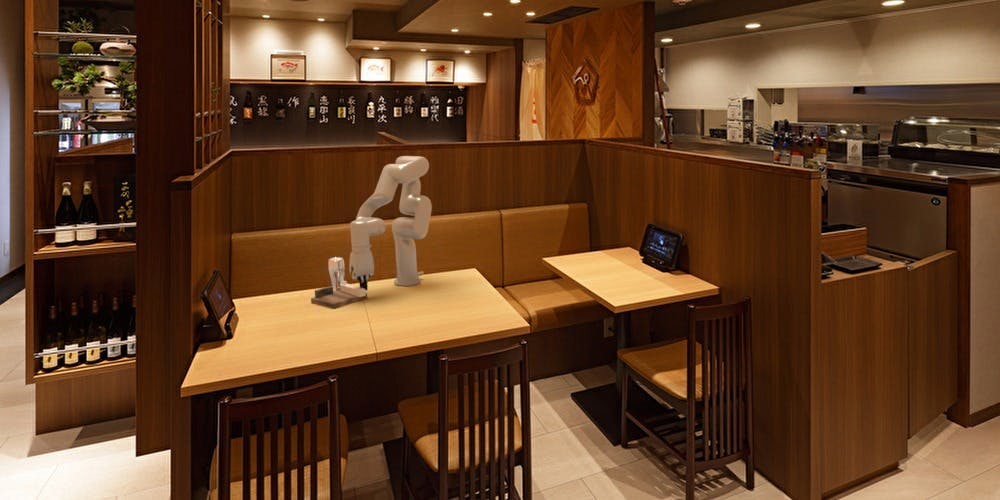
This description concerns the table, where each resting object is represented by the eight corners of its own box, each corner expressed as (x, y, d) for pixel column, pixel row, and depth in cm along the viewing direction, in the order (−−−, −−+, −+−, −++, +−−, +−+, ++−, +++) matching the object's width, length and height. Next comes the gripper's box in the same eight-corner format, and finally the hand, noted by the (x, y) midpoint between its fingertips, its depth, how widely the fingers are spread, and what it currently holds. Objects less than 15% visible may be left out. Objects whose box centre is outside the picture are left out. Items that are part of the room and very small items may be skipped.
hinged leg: (340, 290, 251) (339, 281, 250) (346, 289, 253) (345, 279, 252) (359, 297, 241) (359, 287, 240) (365, 295, 243) (364, 285, 243)
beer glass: (342, 293, 255) (339, 260, 252) (327, 292, 257) (325, 260, 253) (348, 288, 262) (346, 257, 259) (335, 288, 263) (332, 256, 260)
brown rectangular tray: (344, 292, 256) (343, 281, 255) (367, 297, 248) (366, 286, 247) (311, 302, 242) (310, 291, 241) (334, 308, 234) (333, 297, 232)
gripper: (370, 245, 251) (372, 284, 255) (341, 250, 240) (344, 292, 244) (380, 247, 246) (383, 287, 250) (351, 253, 235) (354, 295, 239)
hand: (363, 290), depth 247 cm, fingers closed
